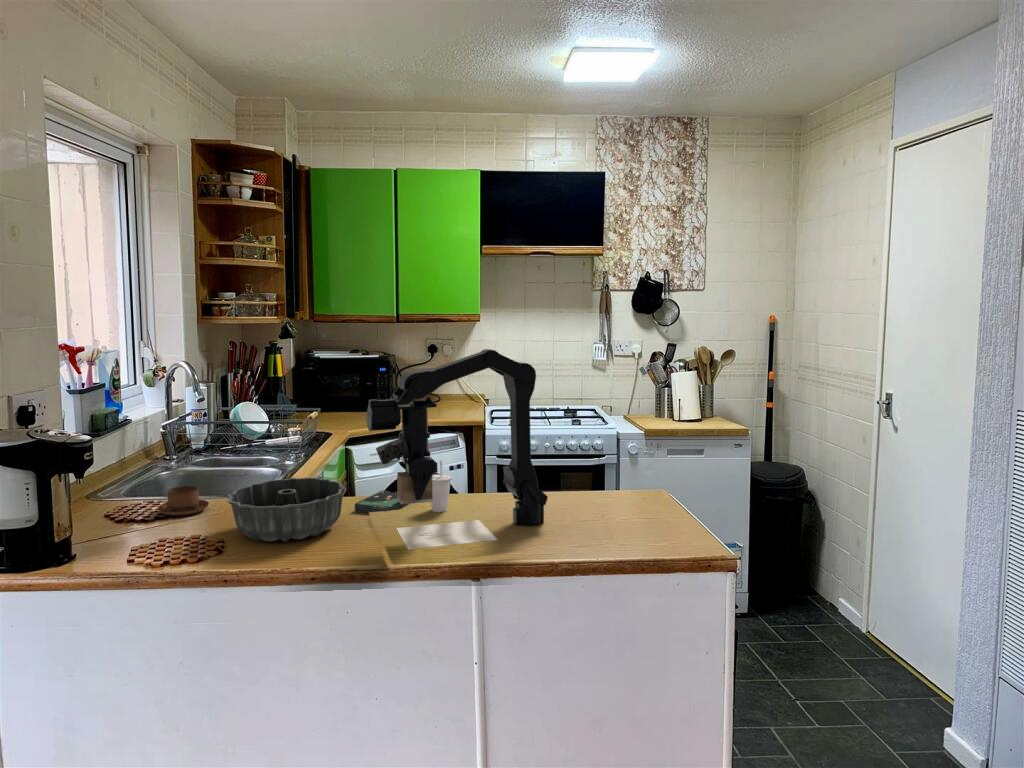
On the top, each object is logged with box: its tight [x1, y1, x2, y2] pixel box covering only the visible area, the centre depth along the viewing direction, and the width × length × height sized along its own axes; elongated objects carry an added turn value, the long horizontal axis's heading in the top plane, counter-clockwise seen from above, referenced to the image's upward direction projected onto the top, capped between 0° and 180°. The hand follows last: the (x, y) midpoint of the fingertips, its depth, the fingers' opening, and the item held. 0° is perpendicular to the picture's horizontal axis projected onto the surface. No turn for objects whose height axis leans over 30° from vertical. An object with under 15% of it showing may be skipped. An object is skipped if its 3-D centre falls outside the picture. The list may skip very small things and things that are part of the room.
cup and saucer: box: [158, 485, 210, 517], centre depth 192 cm, size 12×12×6 cm
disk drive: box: [354, 490, 411, 514], centre depth 197 cm, size 10×3×15 cm
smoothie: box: [430, 459, 453, 513], centre depth 188 cm, size 6×6×14 cm
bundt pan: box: [227, 477, 346, 543], centre depth 175 cm, size 26×26×10 cm
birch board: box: [396, 519, 498, 551], centre depth 169 cm, size 20×16×1 cm
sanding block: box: [396, 471, 433, 505], centre depth 165 cm, size 7×5×6 cm
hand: (416, 496), depth 166 cm, fingers closed on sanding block, 5 cm apart
